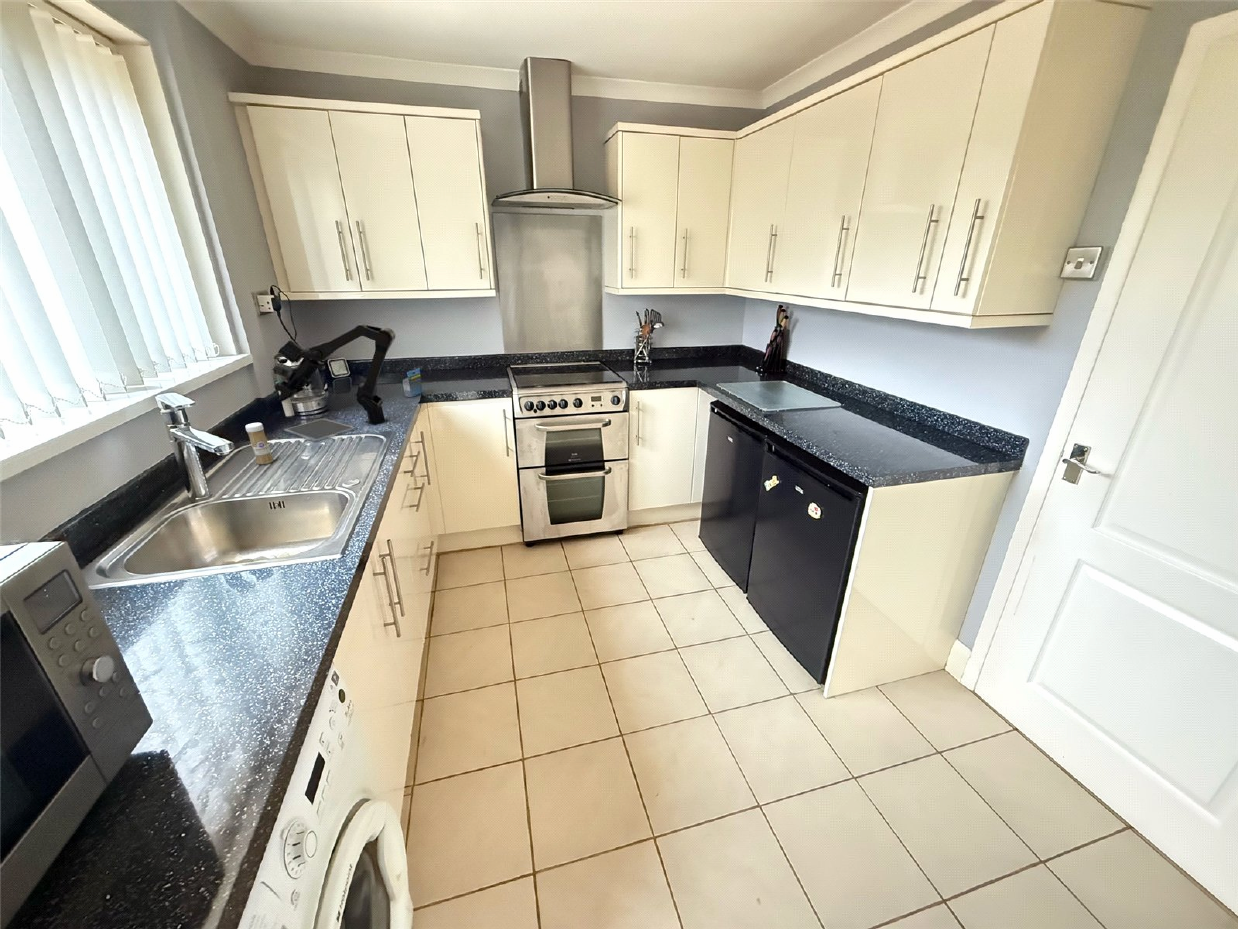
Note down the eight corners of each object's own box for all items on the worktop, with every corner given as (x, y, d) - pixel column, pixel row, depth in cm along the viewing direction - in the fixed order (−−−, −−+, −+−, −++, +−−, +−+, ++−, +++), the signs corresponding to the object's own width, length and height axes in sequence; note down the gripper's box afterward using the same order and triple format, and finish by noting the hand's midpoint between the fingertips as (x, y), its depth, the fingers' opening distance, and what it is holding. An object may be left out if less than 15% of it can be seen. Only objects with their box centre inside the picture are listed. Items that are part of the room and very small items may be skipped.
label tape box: (416, 392, 243) (412, 367, 238) (423, 392, 242) (419, 368, 237) (404, 397, 235) (400, 371, 230) (412, 397, 234) (407, 372, 229)
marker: (296, 416, 196) (287, 381, 190) (288, 418, 193) (278, 383, 187) (292, 414, 197) (282, 380, 191) (284, 416, 195) (273, 382, 189)
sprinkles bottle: (262, 466, 162) (249, 427, 156) (254, 463, 164) (242, 425, 159) (276, 461, 166) (264, 423, 160) (269, 458, 168) (257, 421, 162)
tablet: (355, 429, 194) (355, 427, 194) (315, 442, 182) (314, 439, 181) (324, 420, 204) (323, 418, 204) (283, 431, 192) (283, 429, 192)
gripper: (295, 351, 195) (273, 380, 197) (273, 361, 178) (248, 392, 181) (321, 370, 199) (299, 398, 202) (302, 382, 182) (278, 412, 185)
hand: (281, 399), depth 192 cm, fingers closed on marker, 3 cm apart
